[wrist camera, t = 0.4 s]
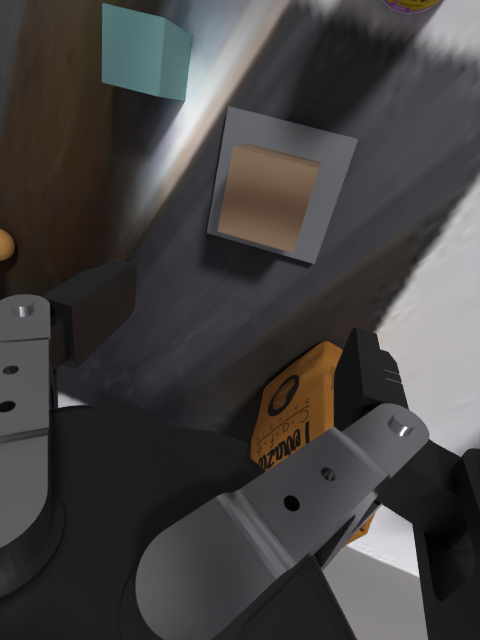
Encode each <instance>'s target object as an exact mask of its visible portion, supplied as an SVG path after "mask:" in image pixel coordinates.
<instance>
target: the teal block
mask: <svg viewBox="0 0 480 640" xmlns="http://www.w3.org/2000/svg"><path fill="white" fill-rule="evenodd" d="M191 44H192V35H191V34H189V33H188V32H186V31H185V30H183V29H181V28H180V27H178V26H177V25H175V24H174V23H172V22H171V21H169V20H168V19H166V18H163V17H159V16H155V15H150V14H146V13H142V12H138V11H134V10H129V9H125V8H121V7H117V6H112V5H108V4H104V3H103V7H102V82H103V83H107V84H111V85H115V86H119V87H123V88H126V89H130V90H134V91H138V92H142V93H146V94H150V95H154V96H158V97H163V98H169V99H175V100H181V101H185V97H186V88H187V79H188V71H189V62H190V53H191Z"/></svg>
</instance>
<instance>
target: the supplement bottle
mask: <svg viewBox="0 0 480 640" xmlns="http://www.w3.org/2000/svg"><path fill="white" fill-rule="evenodd" d="M441 1H442V0H382V2H383V3H384V4H385V5H386V6H387V7H388V8H389V9H391V10H393V11H394V12H397V13H400V14H407V15H408V14H417V13H421V12H424V11H426V10H428V9H430V8H432V7H434V6H435V5H437V4H438V3H440V2H441Z"/></svg>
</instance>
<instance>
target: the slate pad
mask: <svg viewBox="0 0 480 640" xmlns="http://www.w3.org/2000/svg"><path fill="white" fill-rule="evenodd" d="M357 141H358V139H356V138H352V137H348V136H344V135H340V134H336V133H332V132H329V131H325V130H321V129H317V128H313V127H309V126H305V125H301V124H297V123H293V122H289V121H285V120H281V119H278V118H274V117H270V116H266V115H262V114H258V113H254V112H250V111H246V110H242V109H238V108H234V107H230V106H228V111H227V117H226V123H225V128H224V134H223V140H222V146H221V152H220V158H219V164H218V170H217V176H216V182H215V188H214V193H213V199H212V205H211V211H210V217H209V223H208V229H207V233H208V234H212V235H215V236H219V237H222V238H226V239H229V240H233V241H236V242H239V243H243V244H246V245H250V246H253V247H257V248H260V249H264V250H267V251H271V252H274V253H278V254H281V255H285V256H288V257H291V258H295V259H298V260H302V261H305V262H309V263H312V264H315V262H316V259H317V256H318V253H319V250H320V247H321V244H322V242H323V239H324V236H325V233H326V230H327V227H328V224H329V221H330V219H331V216H332V213H333V210H334V207H335V204H336V201H337V199H338V196H339V193H340V190H341V187H342V184H343V181H344V178H345V176H346V173H347V170H348V167H349V164H350V161H351V158H352V156H353V153H354V150H355V147H356V144H357ZM247 143H250V144H254V145H258V146H261V147H265V148H269V149H273V150H277V151H280V152H284V153H288V154H292V155H296V156H299V157H303V158H307V159H311V160H315V161H318V162H321V165H320V168H319V171H318V175H317V178H316V181H315V184H314V188H313V191H312V194H311V197H310V200H309V204H308V207H307V210H306V213H305V217H304V220H303V223H302V226H301V230H300V233H299V236H298V239H297V242H296V246H295V249H294V252H293V253H291V252H287V251H284V250H281V249H277V248H274V247H270V246H267V245H263V244H260V243H256V242H253V241H249V240H246V239H242V238H239V237H235V236H232V235H228V234H225V233H221V232H218V226H219V221H220V215H221V210H222V205H223V199H224V194H225V188H226V183H227V178H228V172H229V167H230V161H231V156H232V151H233V146H238V145H242V144H247Z"/></svg>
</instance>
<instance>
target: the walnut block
mask: <svg viewBox="0 0 480 640" xmlns="http://www.w3.org/2000/svg"><path fill="white" fill-rule="evenodd" d="M320 165H321V162H318V161H315V160H311V159H307V158H303V157H299V156H296V155H292V154H288V153H284V152H280V151H277V150H273V149H269V148H265V147H261V146H258V145H254V144H250V143H247V144H242V145H238V146H233V151H232V156H231V161H230V167H229V172H228V178H227V183H226V188H225V194H224V199H223V205H222V210H221V215H220V221H219V226H218V232H221V233H225V234H228V235H232V236H235V237H239V238H242V239H246V240H249V241H253V242H256V243H260V244H263V245H267V246H270V247H274V248H277V249H281V250H284V251H287V252H291V253H293V252H294V249H295V246H296V242H297V239H298V236H299V233H300V230H301V226H302V223H303V220H304V217H305V213H306V210H307V207H308V204H309V200H310V197H311V194H312V191H313V188H314V184H315V181H316V178H317V175H318V171H319V168H320Z"/></svg>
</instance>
